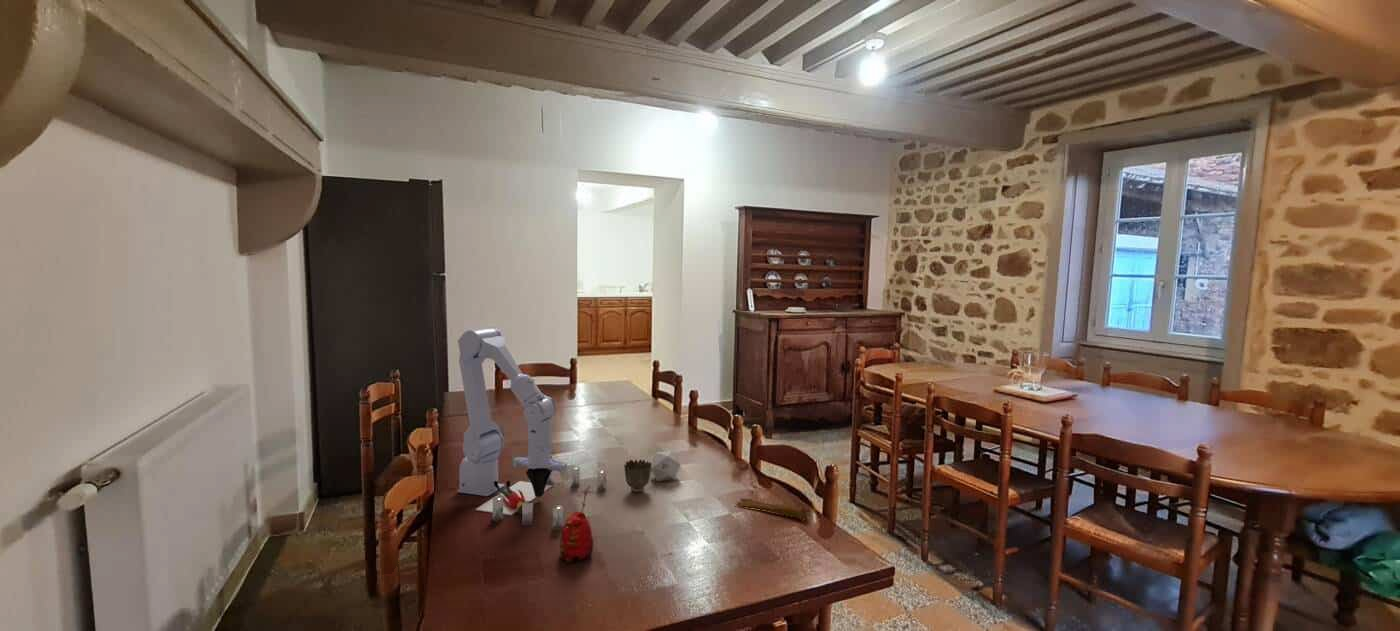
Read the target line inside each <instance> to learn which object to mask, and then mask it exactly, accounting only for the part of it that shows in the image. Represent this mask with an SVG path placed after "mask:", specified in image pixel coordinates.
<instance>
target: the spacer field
mask: <svg viewBox="0 0 1400 631" xmlns="http://www.w3.org/2000/svg"><path fill="white" fill-rule="evenodd" d="M580 468H581V467H579V466H573V467H571V469H570V486H571V488H579V487H581V486H580V485H581V484H580V478H581V476H580V474H581V469H580ZM596 477H597V482H596V483H597V484H596V490H597V491H598V492H604V491H606V490H607V470H604V469H601V470H598V471H597V476H596ZM554 483H555V471H553V470H552V472H551V474H550V476H549V478H548V480H547V483H546V485H551V484H554ZM494 497H495V498H494ZM494 497H492V498H493V513H492V520H493V521H494V522H500V521H502V520H504V515H503V497H496V496H494ZM533 504H534V502H533V500H532V501H525V502H523V503H522V514H521V517H522V520H521V524H522V526H532V524H533V522H534V519H533V518H534V517H533V516H534V509H533V508H534V505H533ZM563 525H564V506H563V505H558V504H557V505H554V506H553V507H552V530H553V531H562V526H563Z"/></svg>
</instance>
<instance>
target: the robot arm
mask: <svg viewBox="0 0 1400 631" xmlns="http://www.w3.org/2000/svg"><path fill="white" fill-rule="evenodd" d="M457 342H458V349H459V357H458V358H459V359H458V364H459V368H460V369H459V370H460V375H461V381H462V385H463V392H464V398H465V402H466V403H465V405H466V410H467V415H468V420H469V421H468V422H469V426H468V427H467V429H466V430H465V432H464V433H463V445H462V452H463V454H464V458H463V459H462V460H461V462H460V465H459V488H458V489H457V493H463V494H469V495H475V496H476V495H477V496H483V497H489V496H491V495H493V494H494V493H496V492H497V491H499V490H498V489H497V488H496V487H495V485H494V482H495V481H497V482H498V485H499V487H500V488H502V489H503V488H504V487H505V485H506V484H505V483H499V456H500V451H502V450H503V448H504V446H505V439H504V436H503V434H502V433H501V430H500V427H499V424H497V423H496V422H494V421H493V420H492V415H491V410H490V405H489V399H488V393H487V387H486V382H485V376H484V370H483V363H484V362H485V361H486V359H490V360H493V362H494V363H495V364H496V365H497V367H498V368H500V370H501V371H502V372H503V374H505V376H506V377H507V378H508V379H509V381H510V385H509V386H510V387H509V389H510V390H511V391H512V393H513V394H514V396H515V397H516V398H517V400H518V401H519V403H520V404H521V406H522V407H523V409H524V410H523V411H522V412H523V416H524V419H525V421H526V425H527V426H526V427H527V428H528V440H527V441H528V444H527V446H528V452H527V453H528V456H527V457H526V456H525V457H521V456H516V457H515V458H512V467H524V468H528V470H527V471H525V474H526V476H527V478H528V479H529V482H530V483H531V484H532V486H533V490H534V493H535V497H536V498H540V497H542V496H543V495H544V494H545V491H544V489H545V486H546V485H547V484H546V483H547V480H548V478H549V476H550V474H551V472H552V470H553V471H554V472H555V471H556V472H559V473H561V474H562V473H565V472H567V469H568V468H567V467H568V466H567V462H562V461H558V460H555V459H552V418H553V417H554V416H555V414H556V412H557V406H556V403H555V402H554V399H553V398H552V397H550V396H547V395H546V394H544V393H542V391H541V390H540V389H539V387H538V386H537V384H536V382H535V379H534V378H533V377H532V376H531V375H529V374H524V373H523V372H522V371H521V369H520V368H519V366H518V364H517V363H516V361H515V360H514V358H513V356H512V354H511V352H510V351H509V349H508V348H507V346H506V338H505V337H504V336H503V335H502V333H501V331H500V330H499V329H498V328H496V327H489V328H483V329H474V330H473V329H472V330H466V331H464V332H463V334H462V335H461V336H460V337H459V339H458V340H457Z"/></svg>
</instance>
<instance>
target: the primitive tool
mask: <svg viewBox="0 0 1400 631" xmlns="http://www.w3.org/2000/svg"><path fill="white" fill-rule="evenodd" d="M739 500H740V501H742V502H738V501H737V502H738V503H737V502H736V503H737V504H736V503H735V504H736V505H738V506H742V507H748V508H755V509H760V510H766V511H771V512H775V513H779V514H784V515H788V516H792V517H796V518H795V519H797V518H799V519H800V520H803V519H805V518H806V519H807V517H808V515H807V512H808V511H807V510H806V507H804V506H802V507H794V506H793V507H792V506H791V507H790V506H785V505H782V504H781V505H778V504H774V503H767V502H762V501H758V500H753V499H752V498H740V499H739ZM788 516H787V517H788ZM792 517H791V518H792ZM799 519H798V520H799ZM806 519H805V520H806ZM800 520H799V521H800Z"/></svg>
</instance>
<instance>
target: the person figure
mask: <svg viewBox="0 0 1400 631" xmlns="http://www.w3.org/2000/svg"><path fill="white" fill-rule="evenodd" d="M498 483H499V481H498V482H497V481H495V482H494V485H495V487H496V488H497V489H498V490H497V491H499V492H500V493H502V494H504V496H505V497H506V498H507V499H508V500H509V501H511V503H512V504H509V503H508V502H507V501H506V499H505V497H504V496H503V495H502V497H503V501H504V503H505V505H506V506H508V507H510V508H511V509H514V508H517V512H518V513H519V514H521V515H522V503H523V502H525V501H526V500H525V498H524V496H523V493H522V492H521V490H519V489H518V491H519V493H520V495H521V497H519V496H518V494H517V493H515V492H514V491H512V490H511V489H510V487H511V481H510V480H507V481H506V484H505V485H506V489H507V491H508V492H509V493H508V492H506V491H505V490H506V489H503V487H502V488H500V487H499V485H498Z"/></svg>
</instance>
